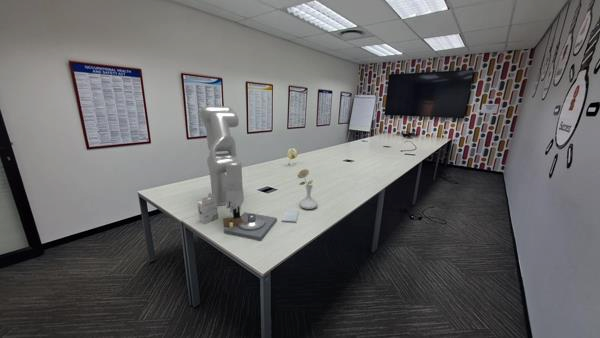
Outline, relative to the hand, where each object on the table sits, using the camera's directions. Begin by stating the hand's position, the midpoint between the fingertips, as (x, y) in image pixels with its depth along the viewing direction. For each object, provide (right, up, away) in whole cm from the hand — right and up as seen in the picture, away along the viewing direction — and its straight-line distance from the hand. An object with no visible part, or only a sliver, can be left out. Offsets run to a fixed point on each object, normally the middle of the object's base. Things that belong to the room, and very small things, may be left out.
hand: (236, 218), depth 122 cm
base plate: (+8, -5, +1) cm, 9 cm away
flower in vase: (+38, +2, +25) cm, 45 cm away
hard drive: (+28, -3, +12) cm, 30 cm away
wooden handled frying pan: (+5, -3, -1) cm, 5 cm away
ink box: (-17, -3, +7) cm, 19 cm away
